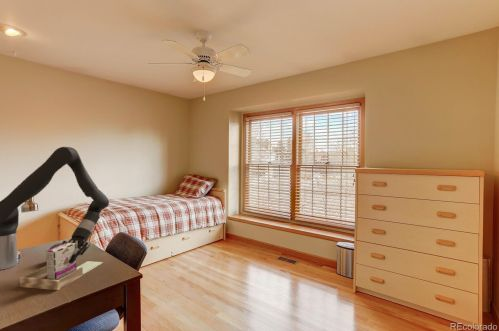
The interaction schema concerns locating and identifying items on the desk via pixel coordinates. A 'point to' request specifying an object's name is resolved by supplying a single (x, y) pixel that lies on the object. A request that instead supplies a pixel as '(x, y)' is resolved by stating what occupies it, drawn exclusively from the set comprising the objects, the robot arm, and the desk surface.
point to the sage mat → (89, 266)
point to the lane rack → (43, 283)
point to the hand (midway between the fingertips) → (65, 262)
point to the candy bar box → (60, 261)
